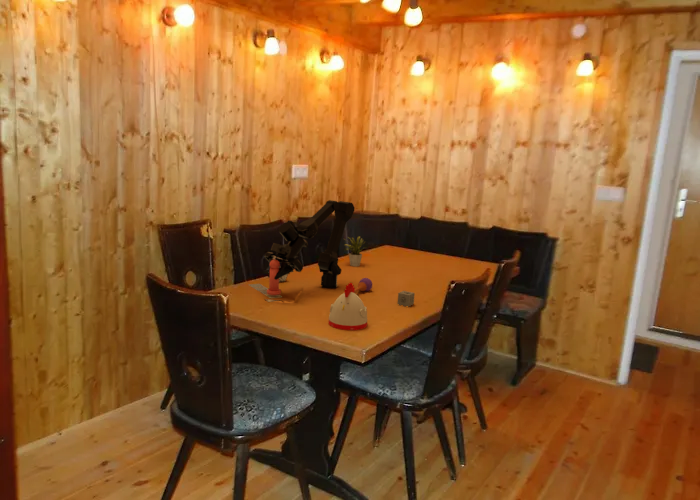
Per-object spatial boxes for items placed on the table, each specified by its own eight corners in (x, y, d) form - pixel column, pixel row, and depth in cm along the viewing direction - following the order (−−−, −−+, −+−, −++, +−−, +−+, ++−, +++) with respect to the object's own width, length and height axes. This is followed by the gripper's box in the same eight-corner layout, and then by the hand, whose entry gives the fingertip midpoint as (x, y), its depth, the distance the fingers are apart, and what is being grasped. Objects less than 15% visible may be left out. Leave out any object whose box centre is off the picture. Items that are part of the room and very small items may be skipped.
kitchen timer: (322, 326, 199) (324, 284, 196) (337, 316, 211) (339, 277, 209) (359, 332, 194) (362, 290, 191) (372, 322, 207) (374, 282, 204)
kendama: (340, 288, 237) (361, 276, 254) (342, 302, 238) (363, 289, 255) (352, 288, 234) (373, 276, 251) (354, 302, 235) (375, 289, 252)
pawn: (278, 291, 234) (279, 257, 231) (282, 294, 229) (283, 260, 226) (265, 292, 231) (265, 258, 229) (269, 295, 226) (270, 261, 224)
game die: (281, 291, 256) (285, 277, 249) (265, 283, 257) (268, 269, 250) (290, 279, 262) (294, 265, 255) (274, 271, 263) (277, 257, 256)
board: (243, 286, 247) (243, 283, 247) (261, 284, 251) (261, 282, 251) (268, 301, 225) (268, 299, 224) (288, 299, 229) (288, 297, 229)
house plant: (343, 261, 313) (345, 232, 310) (368, 263, 311) (370, 234, 308) (339, 266, 299) (341, 235, 296) (365, 268, 297) (367, 237, 294)
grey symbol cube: (408, 307, 229) (409, 295, 228) (397, 304, 232) (398, 293, 231) (413, 304, 233) (414, 292, 233) (402, 302, 236) (403, 290, 235)
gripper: (268, 232, 235) (246, 261, 229) (298, 239, 223) (276, 270, 217) (281, 249, 242) (261, 278, 236) (312, 256, 230) (291, 287, 224)
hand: (271, 278), depth 228 cm, fingers closed on pawn, 4 cm apart
